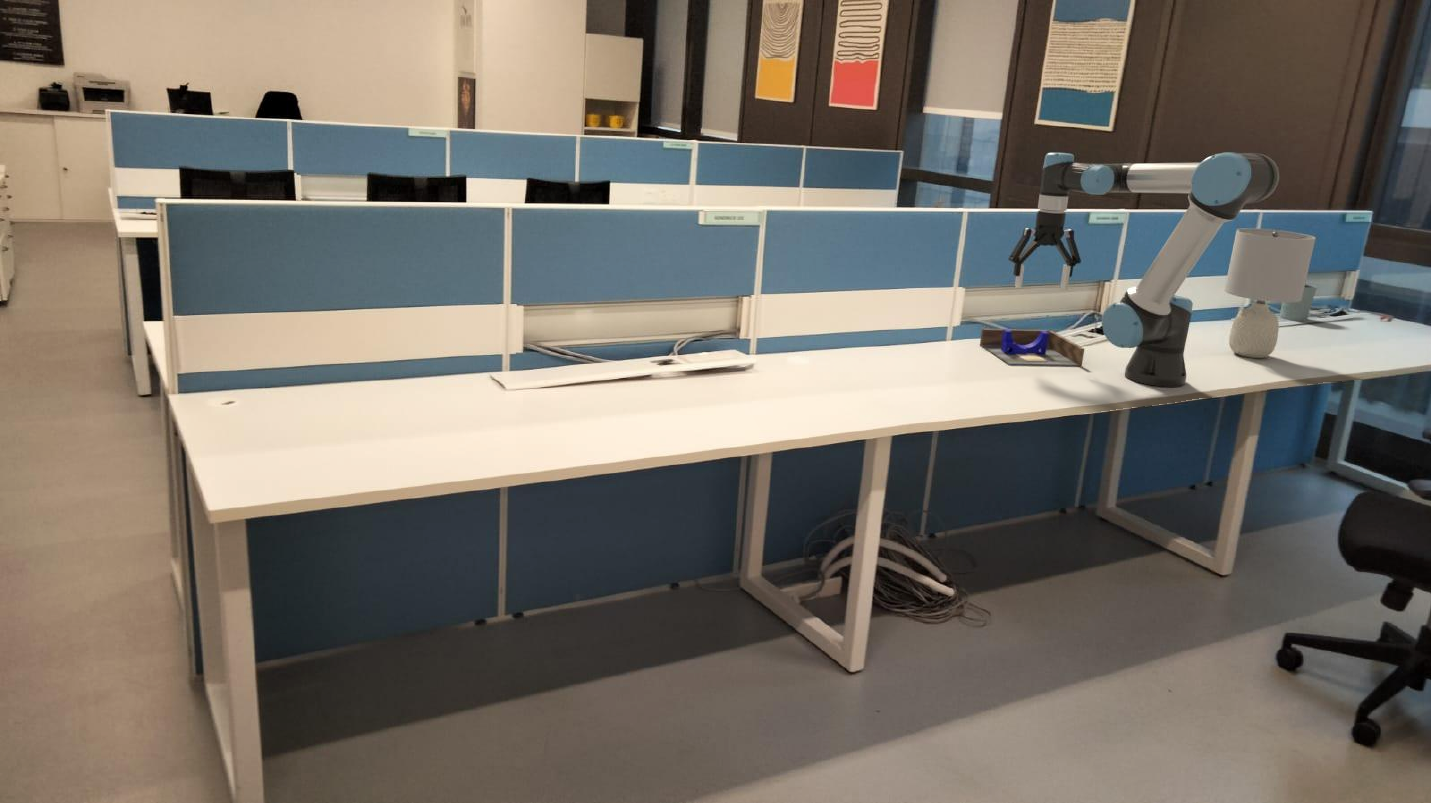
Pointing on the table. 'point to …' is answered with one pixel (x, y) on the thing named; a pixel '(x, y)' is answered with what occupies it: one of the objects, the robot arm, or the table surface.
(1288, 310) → the grey tapered pot
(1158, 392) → the table surface
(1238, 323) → the lamp
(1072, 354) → the corner arena
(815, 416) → the table surface
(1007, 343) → the blue u-shaped bracket
